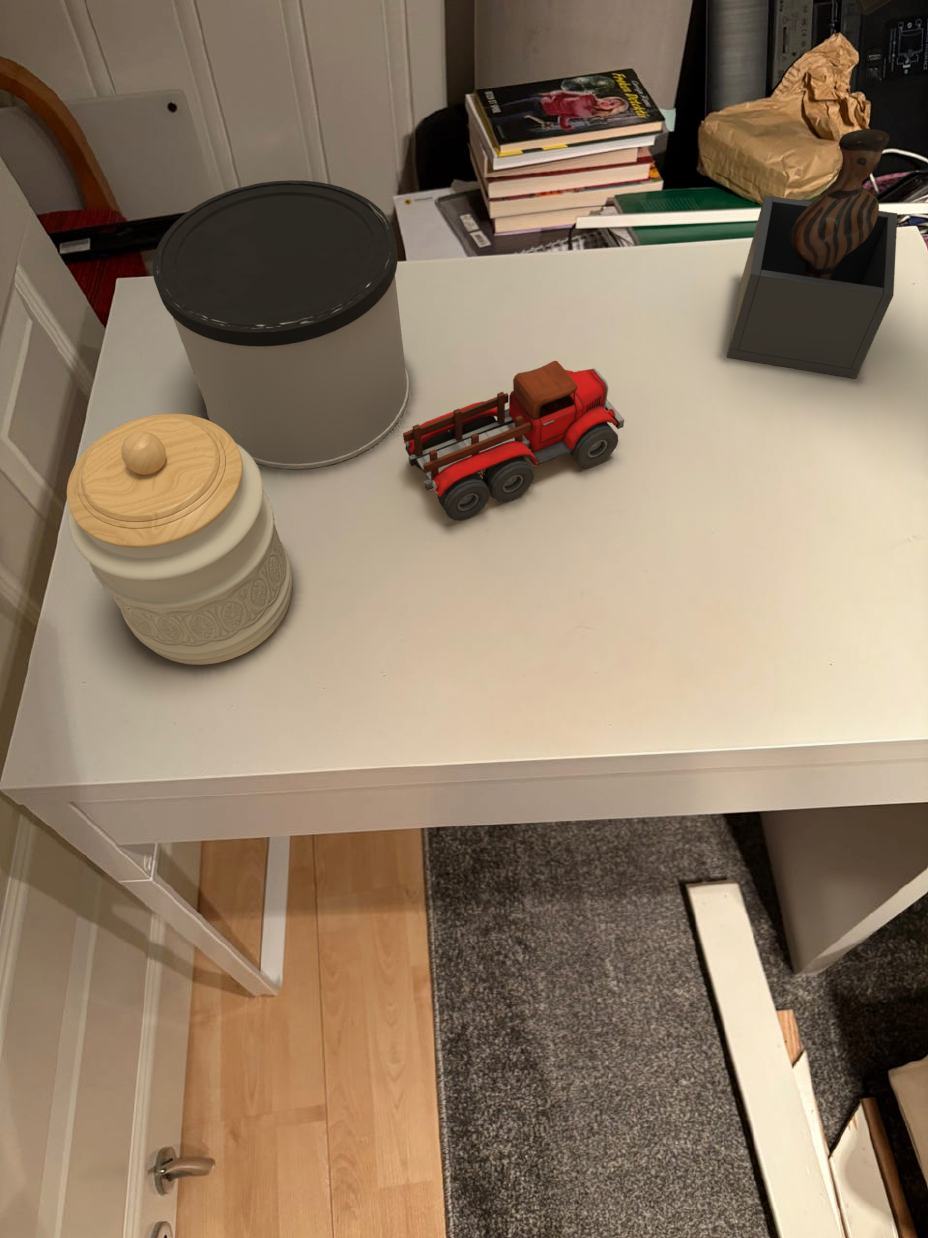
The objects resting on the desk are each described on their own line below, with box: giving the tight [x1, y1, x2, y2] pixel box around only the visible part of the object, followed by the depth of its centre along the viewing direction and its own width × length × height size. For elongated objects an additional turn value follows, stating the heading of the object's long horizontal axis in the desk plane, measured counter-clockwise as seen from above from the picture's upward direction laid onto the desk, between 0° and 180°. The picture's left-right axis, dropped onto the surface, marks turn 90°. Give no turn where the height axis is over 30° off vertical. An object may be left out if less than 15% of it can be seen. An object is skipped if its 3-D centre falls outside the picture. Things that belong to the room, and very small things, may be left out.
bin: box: [726, 195, 898, 379], centre depth 80 cm, size 12×12×9 cm
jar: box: [66, 413, 293, 666], centre depth 62 cm, size 13×13×18 cm
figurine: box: [790, 128, 891, 280], centre depth 75 cm, size 7×5×18 cm
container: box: [152, 179, 410, 470], centre depth 75 cm, size 19×19×15 cm
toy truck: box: [402, 360, 625, 521], centre depth 73 cm, size 8×18×8 cm, turn 117°
